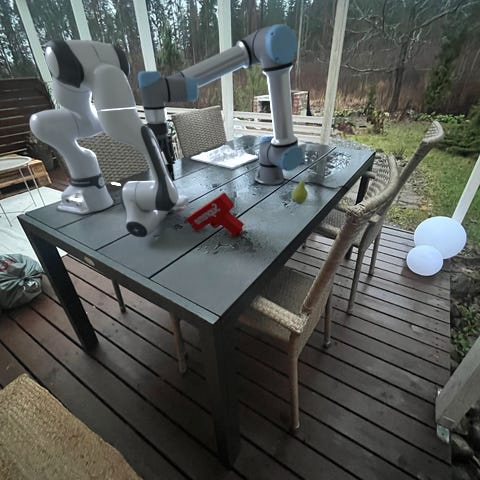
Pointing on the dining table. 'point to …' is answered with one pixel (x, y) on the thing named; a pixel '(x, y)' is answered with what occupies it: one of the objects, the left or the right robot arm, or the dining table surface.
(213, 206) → the toy gun
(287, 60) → the right robot arm
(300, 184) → the fruit
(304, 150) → the ink box
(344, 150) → the dining table surface
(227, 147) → the relief map
